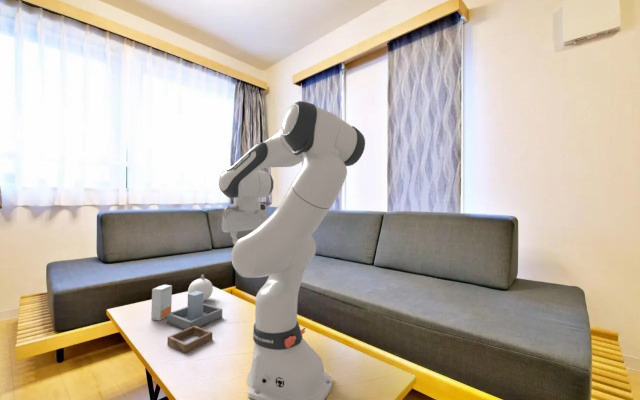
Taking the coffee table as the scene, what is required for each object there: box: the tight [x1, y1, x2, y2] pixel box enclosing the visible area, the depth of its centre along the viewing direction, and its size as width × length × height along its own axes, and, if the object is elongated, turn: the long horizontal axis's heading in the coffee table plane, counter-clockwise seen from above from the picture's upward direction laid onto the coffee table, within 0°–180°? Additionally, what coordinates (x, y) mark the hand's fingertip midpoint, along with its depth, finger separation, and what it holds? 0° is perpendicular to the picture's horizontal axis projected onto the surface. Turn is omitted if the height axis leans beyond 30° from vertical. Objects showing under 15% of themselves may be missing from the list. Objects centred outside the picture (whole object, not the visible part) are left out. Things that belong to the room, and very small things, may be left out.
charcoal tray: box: [166, 302, 223, 331], centre depth 105 cm, size 14×14×4 cm
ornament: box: [187, 274, 214, 302], centre depth 125 cm, size 10×10×12 cm
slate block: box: [187, 291, 204, 321], centre depth 105 cm, size 4×4×10 cm
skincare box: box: [150, 284, 173, 321], centre depth 107 cm, size 6×4×12 cm
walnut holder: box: [167, 325, 213, 354], centre depth 89 cm, size 10×10×2 cm
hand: (245, 242), depth 103 cm, fingers open, 8 cm apart
